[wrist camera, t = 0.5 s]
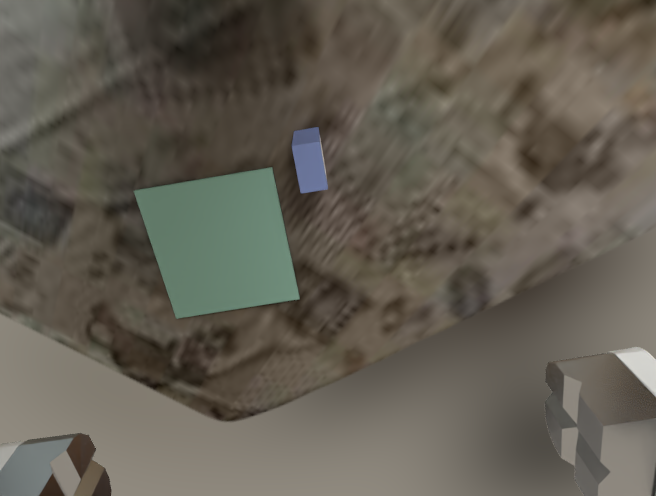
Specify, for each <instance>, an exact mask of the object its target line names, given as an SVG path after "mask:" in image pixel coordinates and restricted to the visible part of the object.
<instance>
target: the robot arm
mask: <svg viewBox="0 0 656 496" xmlns="http://www.w3.org/2000/svg"><path fill="white" fill-rule="evenodd" d="M545 382H546V383H547V385H548V386H549V387H550V389H551V391H552V394H551V395H550V396H549V397H548V399H547V400H546V401H545V418H546V423H547V426H548V431H549V435H550V437H551V439H552V441H553V444H554V446H555V448H556V450H557V451H558V453H559V455H560V457H561V458H562V459H564V460H566V461H567V462H569V463H571V464H572V465H574V466H575V482H576V483H577V485H578V487H579V488H580V490H581V492H582V493H583V494H584V496H656V359H655V358H653V357H652V356H651V355H650V354H649V353H648V352H647V351H646V350H644V349H642V348H639V347H634V348H629V349H622V350H617V351H611V352H607V353H603V354H597V355H591V356H584V357H578V358H572V359H566V360H560V361H553V362H548V365H547V367H546V378H545ZM95 451H96V448H95V446H94V444H93V442H92V441H91V438H90V437H89V435H85V434H82V433H78V434H70V435H63V436H55V437H47V438H40V439H32V440H27V441H20V442H12V443H4V444H0V496H111V485H110V479H109V476H108V474H107V472H106V469H105V468H104V467H103V466H101V465H100V464H98V463H97V462H95V461H93V460H92V458H93V456H94V453H95Z"/></svg>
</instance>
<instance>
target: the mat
mask: <svg viewBox="0 0 656 496" xmlns="http://www.w3.org/2000/svg"><path fill="white" fill-rule="evenodd" d="M134 194H135V197H136V200H137V203H138V206H139V208H140V211H141V214H142V217H143V220H144V223H145V226H146V229H147V232H148V235H149V238H150V241H151V244H152V247H153V250H154V253H155V256H156V259H157V262H158V265H159V268H160V271H161V274H162V277H163V280H164V283H165V286H166V289H167V292H168V295H169V298H170V301H171V304H172V307H173V310H174V313H175V316H176V319H178V318H184V317H190V316H196V315H203V314H209V313H215V312H221V311H228V310H234V309H240V308H246V307H253V306H259V305H265V304H271V303H278V302H284V301H290V300H297V299H300V296H299V292H298V287H297V282H296V278H295V273H294V268H293V263H292V259H291V254H290V249H289V244H288V240H287V235H286V230H285V226H284V221H283V216H282V211H281V207H280V202H279V197H278V192H277V188H276V183H275V178H274V173H273V169H272V167H269V168H264V169H258V170H252V171H246V172H240V173H234V174H228V175H222V176H216V177H210V178H204V179H198V180H192V181H186V182H180V183H175V184H169V185H163V186H157V187H151V188H145V189H139V190H135V191H134Z"/></svg>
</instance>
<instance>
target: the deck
mask: <svg viewBox="0 0 656 496" xmlns="http://www.w3.org/2000/svg"><path fill="white" fill-rule="evenodd" d="M292 150H293V156H294V161H295V166H296V171H297V176H298V182H299V187H300V192H301V194H302V193H308V192H314V191H320V190H326V189H328V186H327V177H326V169H325V163H324V157H323V151H322V145H321V139H320V133H319V127H315V128H310V129H304V130H298V131H294V134H293V141H292Z"/></svg>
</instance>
